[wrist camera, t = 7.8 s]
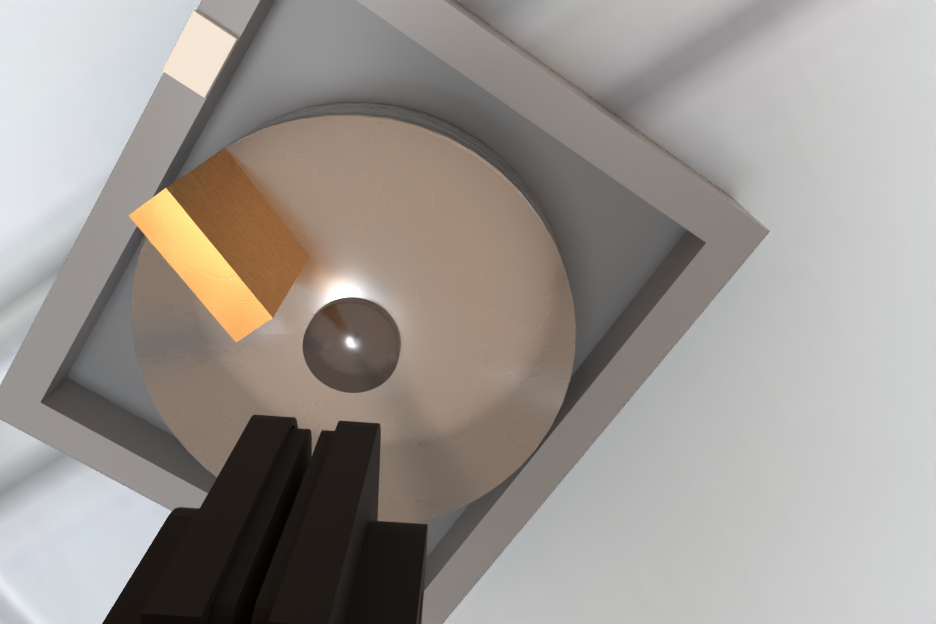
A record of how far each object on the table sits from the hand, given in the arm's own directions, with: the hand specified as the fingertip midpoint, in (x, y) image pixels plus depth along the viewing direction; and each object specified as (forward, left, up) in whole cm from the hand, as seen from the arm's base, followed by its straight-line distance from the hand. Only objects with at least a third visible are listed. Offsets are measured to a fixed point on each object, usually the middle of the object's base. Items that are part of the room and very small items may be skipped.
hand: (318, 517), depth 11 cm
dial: (-4, -1, -19) cm, 19 cm away
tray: (-4, -1, -21) cm, 21 cm away
